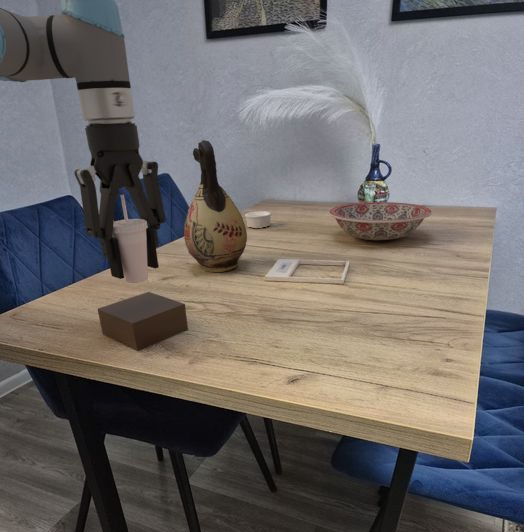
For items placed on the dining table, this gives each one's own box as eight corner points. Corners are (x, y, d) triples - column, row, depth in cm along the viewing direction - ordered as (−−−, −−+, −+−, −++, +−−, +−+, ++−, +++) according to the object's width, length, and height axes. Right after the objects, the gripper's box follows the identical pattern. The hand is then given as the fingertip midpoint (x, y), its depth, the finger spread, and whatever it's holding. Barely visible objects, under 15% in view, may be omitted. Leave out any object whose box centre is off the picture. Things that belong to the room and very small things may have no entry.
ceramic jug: (184, 262, 125) (170, 139, 112) (241, 256, 128) (234, 136, 115) (192, 281, 111) (177, 142, 97) (256, 274, 114) (249, 138, 100)
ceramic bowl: (335, 226, 157) (336, 201, 153) (427, 228, 150) (430, 202, 146) (321, 249, 132) (321, 220, 129) (430, 252, 125) (434, 221, 121)
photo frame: (278, 258, 121) (349, 260, 117) (279, 262, 121) (349, 264, 117) (264, 275, 108) (343, 278, 104) (265, 280, 109) (343, 283, 105)
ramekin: (245, 229, 158) (244, 216, 156) (246, 224, 166) (245, 211, 164) (271, 228, 158) (271, 215, 156) (271, 223, 166) (270, 210, 164)
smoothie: (153, 271, 85) (140, 190, 78) (158, 282, 79) (144, 196, 73) (117, 276, 83) (101, 194, 77) (119, 287, 78) (101, 200, 71)
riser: (102, 334, 86) (97, 308, 83) (152, 315, 93) (148, 291, 90) (137, 350, 79) (132, 323, 77) (188, 329, 86) (185, 303, 84)
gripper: (61, 124, 62) (96, 291, 72) (177, 119, 74) (192, 261, 85) (35, 125, 66) (72, 282, 77) (148, 120, 79) (167, 255, 89)
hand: (135, 271), depth 81 cm, fingers closed on smoothie, 6 cm apart
